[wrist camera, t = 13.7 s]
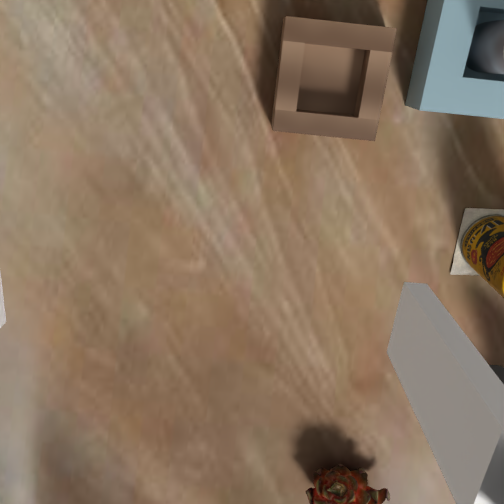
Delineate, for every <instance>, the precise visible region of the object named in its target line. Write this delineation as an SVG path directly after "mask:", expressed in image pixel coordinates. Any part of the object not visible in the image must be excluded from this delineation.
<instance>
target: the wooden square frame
mask: <svg viewBox="0 0 504 504" xmlns="http://www.w3.org/2000/svg"><path fill="white" fill-rule="evenodd" d="M396 31H397V28H390V27H381V26H372V25H363V24H354V23H345V22H336V21H327V20H317V19H308V18H299V17H290V16H285V17H284V18H283V24H282V33H281V42H280V51H279V60H278V69H277V78H276V87H275V96H274V105H273V114H272V123H271V126H272V130H273V131H279V132H289V133H299V134H309V135H319V136H329V137H339V138H349V139H359V140H369V141H375V138H376V133H377V128H378V123H379V118H380V113H381V108H382V102H383V97H384V92H385V87H386V82H387V77H388V72H389V67H390V61H391V56H392V51H393V46H394V41H395V36H396Z"/></svg>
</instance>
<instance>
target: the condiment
mask: <svg viewBox="0 0 504 504" xmlns="http://www.w3.org/2000/svg"><path fill="white" fill-rule="evenodd" d="M450 274H452V275H480V276H481V277H482V278H483V279H485V280H486V281H487V282H488V283H489V285H490V286H492V287H493V288H494V289H495V290H496V291H497V292H498V293H499V294H500V295H501V296H502V297H503V298H504V210H503V209H478V208H465V211H464V216H463V219H462V224H461V227H460V231H459V236H458V240H457V245H456V250H455V254H454V259H453V264H452V269H451V273H450Z"/></svg>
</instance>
